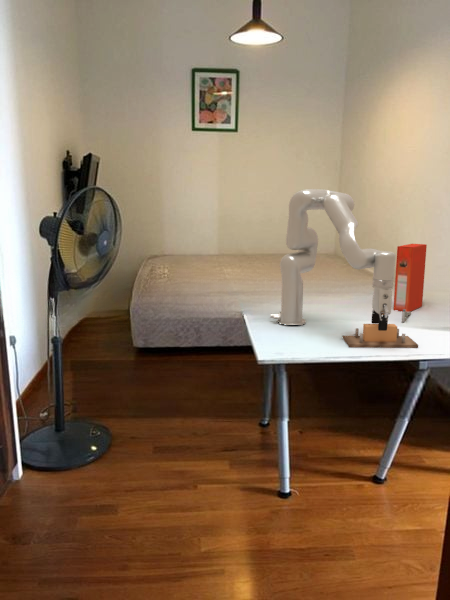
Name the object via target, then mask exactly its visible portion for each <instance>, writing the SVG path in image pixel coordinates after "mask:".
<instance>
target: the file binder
mask: <svg viewBox="0 0 450 600" xmlns="http://www.w3.org/2000/svg"><path fill="white" fill-rule="evenodd" d="M427 246H428V245H427V244H423V243H410V244H404V245H400V246H399V245H398V246H397V247H396V260H395V276H394V295H393V311H395V310H398V311H397V312H401V311H402V312H403V309H406V312H413V311H415V310H417V309H419V308H421V307H423V301H424V299H423V298H424V285H425V275H426V274H425V272H426V270H425V269H426V260H427V259H426V257H427ZM402 312H401V313H402Z"/></svg>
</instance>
